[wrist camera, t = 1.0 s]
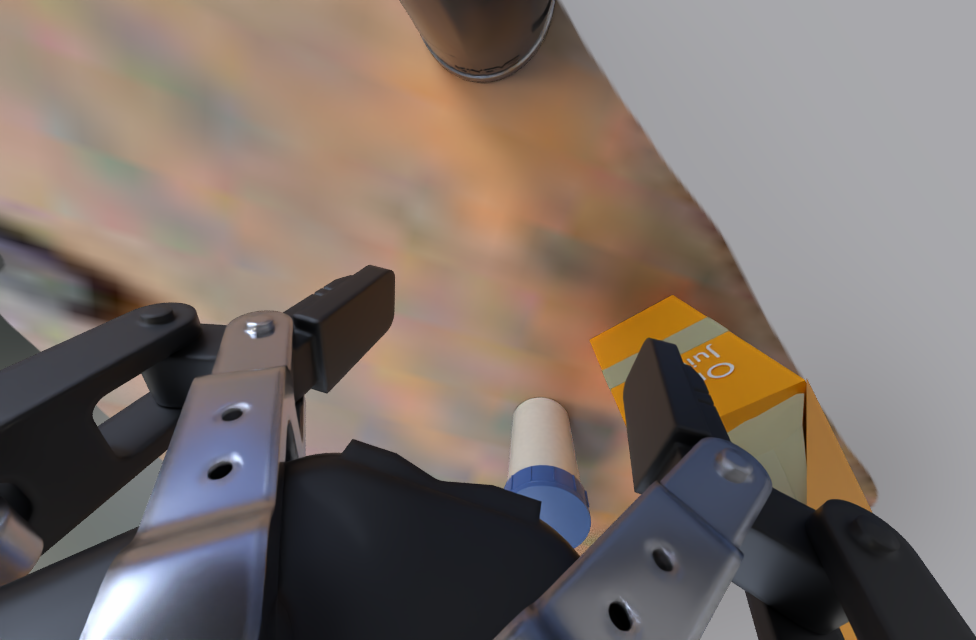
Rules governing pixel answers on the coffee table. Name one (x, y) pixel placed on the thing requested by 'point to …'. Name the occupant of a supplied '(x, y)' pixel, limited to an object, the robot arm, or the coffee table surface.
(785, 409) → the orange juice
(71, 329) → the coffee table surface
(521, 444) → the jar
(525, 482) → the lid
